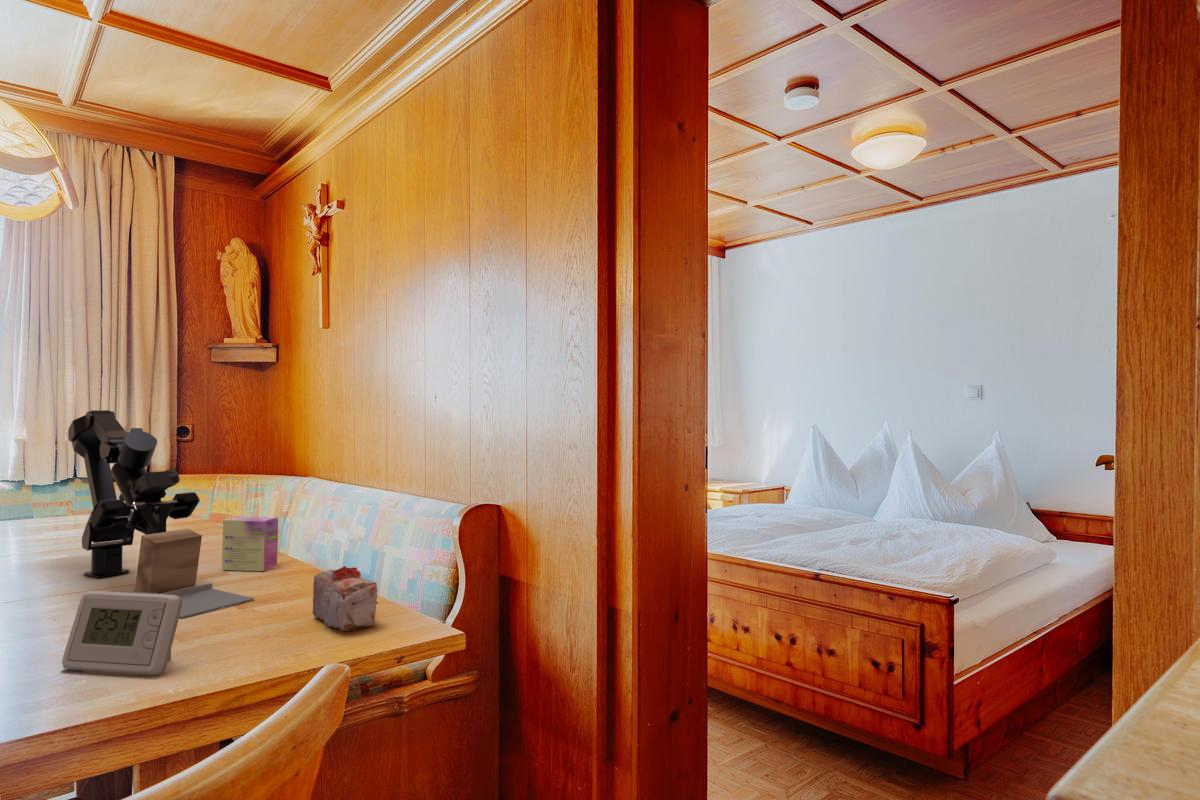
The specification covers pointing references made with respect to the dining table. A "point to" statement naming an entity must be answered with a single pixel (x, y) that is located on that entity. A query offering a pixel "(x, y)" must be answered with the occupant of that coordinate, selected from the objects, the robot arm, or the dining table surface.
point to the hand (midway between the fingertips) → (163, 541)
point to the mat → (205, 599)
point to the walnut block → (168, 561)
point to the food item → (344, 599)
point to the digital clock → (123, 633)
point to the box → (249, 543)
